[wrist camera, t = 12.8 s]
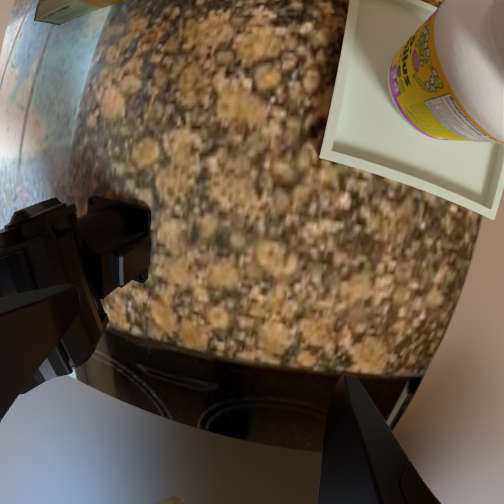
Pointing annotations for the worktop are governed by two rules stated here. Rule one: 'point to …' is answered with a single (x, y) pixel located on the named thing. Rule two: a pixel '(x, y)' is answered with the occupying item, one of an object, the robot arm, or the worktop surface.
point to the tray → (391, 122)
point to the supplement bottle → (454, 73)
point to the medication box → (68, 9)
